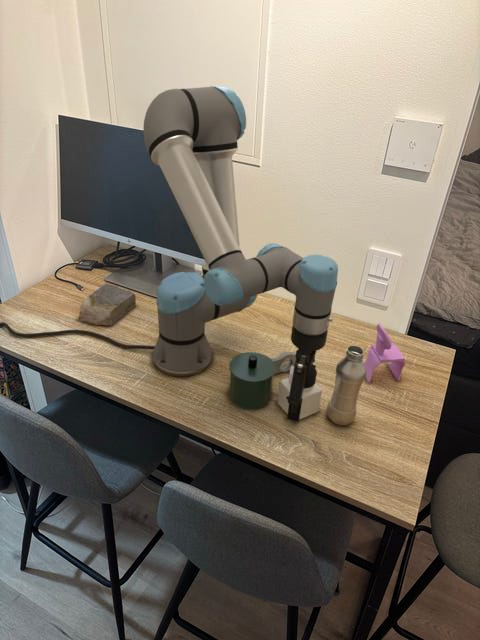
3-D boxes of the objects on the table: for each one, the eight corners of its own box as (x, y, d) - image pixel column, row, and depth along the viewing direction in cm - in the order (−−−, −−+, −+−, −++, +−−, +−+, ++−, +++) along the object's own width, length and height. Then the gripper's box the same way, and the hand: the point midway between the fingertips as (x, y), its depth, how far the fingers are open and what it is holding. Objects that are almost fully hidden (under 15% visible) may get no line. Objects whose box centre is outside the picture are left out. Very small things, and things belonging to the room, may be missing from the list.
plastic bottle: (338, 404, 117) (353, 337, 106) (359, 421, 113) (378, 353, 101) (319, 415, 114) (333, 347, 103) (340, 433, 109) (357, 364, 98)
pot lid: (229, 384, 109) (230, 372, 107) (228, 355, 118) (228, 343, 116) (277, 385, 110) (279, 372, 108) (272, 355, 119) (273, 343, 117)
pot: (230, 409, 114) (231, 381, 109) (228, 381, 122) (230, 354, 117) (272, 409, 115) (275, 381, 110) (268, 381, 123) (271, 354, 118)
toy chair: (402, 383, 125) (417, 336, 116) (370, 385, 123) (382, 337, 115) (390, 363, 132) (403, 317, 123) (359, 364, 130) (370, 318, 122)
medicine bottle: (300, 393, 120) (307, 355, 113) (318, 412, 115) (326, 373, 108) (276, 403, 116) (281, 364, 110) (294, 422, 111) (300, 382, 105)
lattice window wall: (306, 361, 130) (309, 343, 127) (309, 364, 129) (312, 347, 126) (267, 372, 126) (269, 354, 122) (270, 376, 124) (272, 358, 121)
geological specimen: (137, 290, 147) (107, 312, 135) (137, 307, 150) (108, 330, 138) (107, 281, 150) (75, 302, 138) (108, 298, 153) (77, 320, 141)
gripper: (317, 361, 93) (303, 442, 105) (336, 304, 111) (322, 379, 123) (279, 352, 95) (270, 433, 107) (304, 298, 112) (293, 372, 125)
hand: (298, 404), depth 115 cm, fingers closed on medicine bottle, 10 cm apart
